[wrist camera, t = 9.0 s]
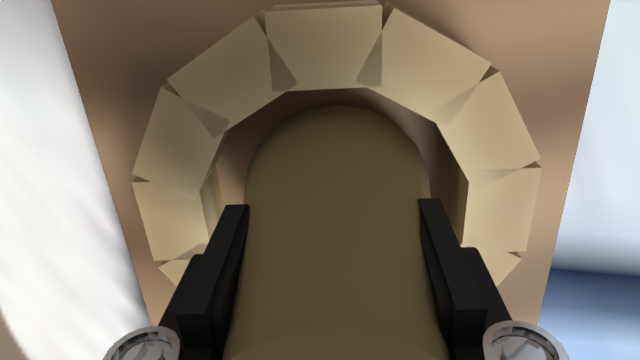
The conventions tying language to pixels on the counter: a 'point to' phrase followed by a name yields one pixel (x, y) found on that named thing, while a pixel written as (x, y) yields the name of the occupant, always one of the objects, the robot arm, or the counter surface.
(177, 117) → the beech ring
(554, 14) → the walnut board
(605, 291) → the counter surface
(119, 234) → the counter surface
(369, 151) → the cork
